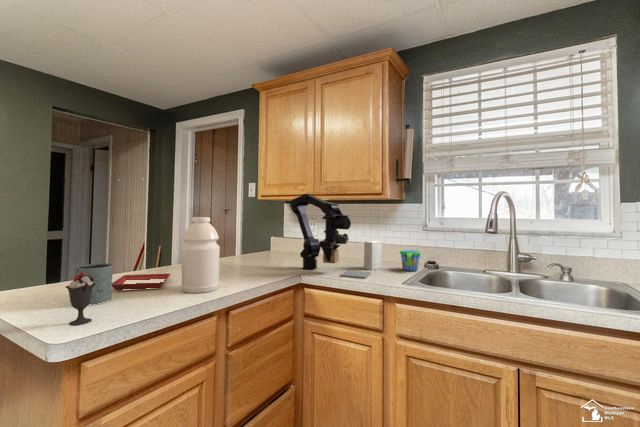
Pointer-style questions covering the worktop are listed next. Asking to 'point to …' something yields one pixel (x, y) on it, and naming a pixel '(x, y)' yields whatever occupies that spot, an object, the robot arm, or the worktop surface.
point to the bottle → (200, 257)
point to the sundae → (80, 296)
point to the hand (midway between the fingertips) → (330, 259)
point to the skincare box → (372, 255)
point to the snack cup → (410, 259)
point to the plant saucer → (120, 286)
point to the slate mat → (355, 274)
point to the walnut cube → (332, 257)
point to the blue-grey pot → (99, 280)
